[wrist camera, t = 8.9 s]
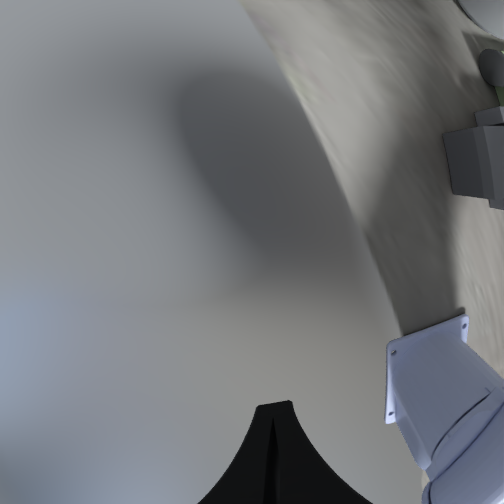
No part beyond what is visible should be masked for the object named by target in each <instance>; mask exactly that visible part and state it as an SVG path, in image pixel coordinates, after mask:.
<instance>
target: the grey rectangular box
mask: <svg viewBox="0 0 504 504" xmlns="http://www.w3.org/2000/svg"><path fill="white" fill-rule="evenodd" d="M443 139H444V143H445V148H446V153H447V158H448V164H449V170H450V176H451V182H452V190H453V194H454V195H462V196H470V197H477V198H485V199H492V200H497V199H501V198H504V126H480V127H474V128H469V129H464V130H459V131H454V132H449V133H444V134H443Z"/></svg>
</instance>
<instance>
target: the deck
mask: <svg viewBox="0 0 504 504" xmlns="http://www.w3.org/2000/svg"><path fill="white" fill-rule="evenodd" d="M479 68H480V71H481V74H482V76H483V78H484V79H485V80H486V81H487V82H488V83H489V84H490V85H493V86H495V89H496V93H497V96H498V99H499V103H500V106H499V107H494V108H490V109H486V110H482V111H478V112H474V114H475V118H476V122H477V126H478V127H480V126H504V51H496V50H492V49H485V50H484V51H482V53H481V54H480V57H479ZM489 201H490V208H496V209H501V210H504V198H501V199H497V200H492V199H489Z"/></svg>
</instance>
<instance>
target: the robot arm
mask: <svg viewBox="0 0 504 504" xmlns="http://www.w3.org/2000/svg"><path fill="white" fill-rule="evenodd" d="M468 324H469V316H468V315H466V314H462V315H460V316H458V317H455V318H453V319H450V320H448V321H445V322H443V323H440V324H437V325H435V326H432V327H429V328H427V329H424V330H421V331H418V332H415V333H413V334H410V335H407V336H404V337H401V338H398V339H395V340H392V341H390V342H389V343H388V344H387V347H386V349H387V350H386V353H387V355H386V363H387V365H386V399H385V400H386V401H385V417H384V421H385V423H386V424H390V423H393V422H396V423H397V425H398V427H399V429H400V431H401V433H402V435H403V437H404V439H405V441H406V443H407V445H408V447H409V449H410V451H411V454H412V456H413V458H414V460H415V462H416V463H417V465H418V466H419V467H420V468H421V469H423V470H425V471H426V473H427V475H428V477H429V479H430V482H429V483H428V484H427V485H426V486H425V488H424V490H423V494H422V504H504V379H503V378H502V377H501V376H500V375H499V374H498V373H497V372H496V371H495V370H494V369H493V368H492V367H491V366H489V365H488V364H487V363H486V362H485V361H484V360H483V359H482V358H481V357H480V356H479V355H478V354H477V353H476V352H475V351H473V350H472V349H471V348H470V347H469V346H468V345H467V344H466V340H467V333H468ZM394 350H395V351H394ZM392 351H394V352H393V353H391V352H392ZM198 504H373V503H371V502H369V501H368V500H367V499H365V498H364V497H363V496H361V495H360V494H359V493H357V492H356V491H355V490H353V489H352V488H351V487H350V486H349V485H348V484H347V483H346V482H344V481H343V480H342V479H341V478H340V477H339V476H338V475H337V474H336V473H335V472H334V471H333V470H332V469H331V468H330V466H329V465H328V464H327V463H326V462H325V461H324V460H323V458H322V457H321V456H320V454H319V453H318V452H317V451H316V449H315V448H314V447H313V445H312V444H311V442H310V441H309V439H308V437H307V436H306V434H305V432H304V431H303V429H302V427H301V425H300V423H299V421H298V419H297V417H296V414H295V412H294V408H293V404H292V401H290V400H287V401H282V402H276V403H271V404H264V405H259V406H257V407H256V411H255V414H254V417H253V420H252V423H251V425H250V428H249V430H248V432H247V434H246V436H245V438H244V441H243V443H242V445H241V447H240V449H239V450H238V452H237V454H236V456H235V457H234V459H233V461H232V462H231V464H230V466H229V467H228V469H227V470H226V472H225V473H224V474H223V476H222V477H221V478H220V480H219V481H218V482H217V483H216V485H215V486H214V487H213V488H212V489H211V491H210V492H209V493H208V494H207V495H206V496H205V497H204V498H203V499H202V500H201V501H200V502H199V503H198Z"/></svg>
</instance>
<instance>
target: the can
mask: <svg viewBox="0 0 504 504" xmlns="http://www.w3.org/2000/svg"><path fill="white" fill-rule="evenodd" d="M458 2H459V4H460V5H461V7H462V8H463V10H464V11H465V12H466V14H467V15H468V16H469V17H470V18H471V19H472V20H473V22H474V23H476V24H477V25H478V26H479V27H480V28H481V29H483V30H485V31H486V32H488V33H490V34H492V35H494V36H495V37H497V38H501V39H504V0H458Z"/></svg>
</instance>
